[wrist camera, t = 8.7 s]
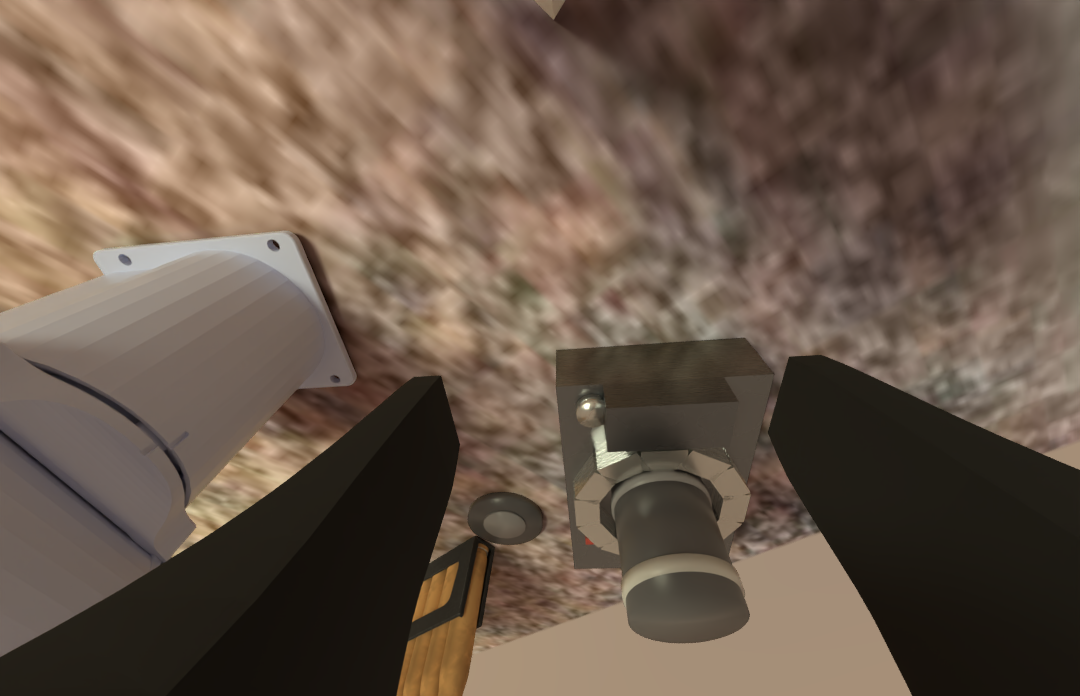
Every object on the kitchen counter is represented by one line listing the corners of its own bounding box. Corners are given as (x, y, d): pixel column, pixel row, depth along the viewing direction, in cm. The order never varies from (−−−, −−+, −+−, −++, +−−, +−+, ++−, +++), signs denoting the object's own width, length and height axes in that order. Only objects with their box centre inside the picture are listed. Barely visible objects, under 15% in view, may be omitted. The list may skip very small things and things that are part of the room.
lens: (610, 512, 21) (626, 645, 16) (606, 456, 19) (623, 593, 14) (698, 508, 21) (743, 643, 16) (706, 449, 18) (762, 589, 13)
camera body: (573, 524, 27) (575, 596, 23) (556, 350, 19) (555, 411, 16) (709, 520, 26) (736, 594, 22) (744, 337, 19) (794, 398, 15)
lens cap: (479, 535, 28) (476, 548, 28) (462, 490, 26) (458, 504, 25) (547, 532, 28) (546, 546, 27) (536, 486, 25) (535, 500, 24)
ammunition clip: (476, 534, 28) (428, 782, 18) (496, 546, 28) (460, 792, 18) (391, 586, 32) (312, 810, 22) (409, 595, 33) (341, 818, 22)
